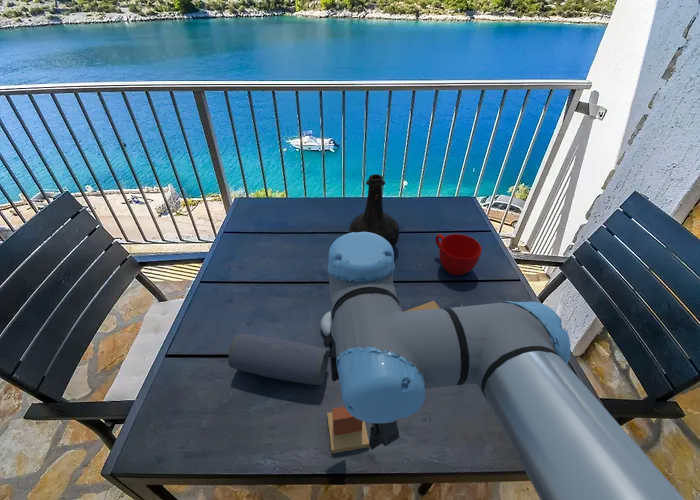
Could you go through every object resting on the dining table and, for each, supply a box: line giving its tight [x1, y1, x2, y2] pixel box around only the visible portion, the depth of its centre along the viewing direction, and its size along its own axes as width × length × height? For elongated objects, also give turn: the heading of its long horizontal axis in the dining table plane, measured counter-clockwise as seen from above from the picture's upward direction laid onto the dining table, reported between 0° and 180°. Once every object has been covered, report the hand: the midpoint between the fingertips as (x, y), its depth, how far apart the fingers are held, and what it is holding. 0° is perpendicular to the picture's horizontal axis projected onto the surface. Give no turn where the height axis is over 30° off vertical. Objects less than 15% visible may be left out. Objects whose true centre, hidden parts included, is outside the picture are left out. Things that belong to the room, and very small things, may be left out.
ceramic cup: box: [435, 233, 482, 276], centre depth 117 cm, size 13×17×10 cm
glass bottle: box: [348, 173, 400, 248], centre depth 119 cm, size 18×18×28 cm
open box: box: [326, 406, 370, 455], centre depth 74 cm, size 8×8×9 cm
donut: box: [320, 310, 331, 337], centre depth 98 cm, size 10×4×10 cm
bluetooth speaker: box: [227, 333, 330, 386], centre depth 85 cm, size 23×9×10 cm, turn 78°
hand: (356, 407), depth 62 cm, fingers open, 13 cm apart
